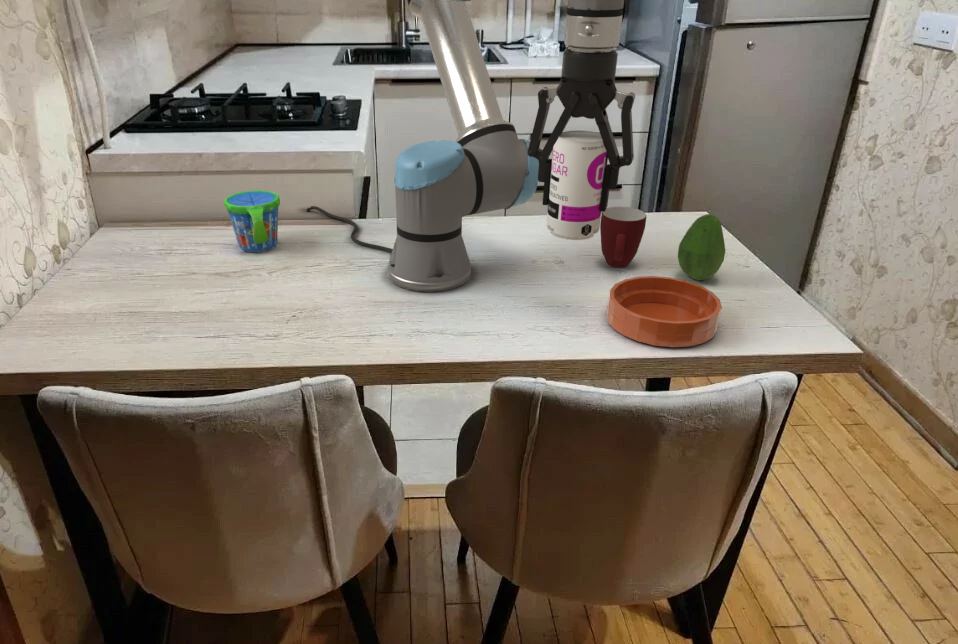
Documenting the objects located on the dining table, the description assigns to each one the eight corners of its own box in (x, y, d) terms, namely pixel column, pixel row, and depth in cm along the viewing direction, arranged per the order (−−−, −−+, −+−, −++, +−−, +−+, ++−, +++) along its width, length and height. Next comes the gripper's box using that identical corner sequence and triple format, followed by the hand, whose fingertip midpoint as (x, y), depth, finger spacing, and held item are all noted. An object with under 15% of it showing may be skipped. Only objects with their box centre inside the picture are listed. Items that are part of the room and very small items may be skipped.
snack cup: (232, 235, 152) (225, 187, 147) (283, 231, 154) (277, 184, 149) (230, 264, 139) (223, 212, 133) (286, 259, 140) (281, 208, 135)
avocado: (714, 270, 135) (727, 208, 129) (723, 288, 128) (737, 223, 122) (670, 268, 136) (681, 206, 130) (676, 285, 129) (688, 221, 123)
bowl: (592, 332, 114) (595, 307, 112) (624, 292, 127) (627, 268, 125) (702, 359, 107) (708, 333, 105) (725, 314, 120) (730, 289, 117)
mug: (643, 279, 132) (651, 226, 127) (598, 277, 133) (604, 225, 128) (636, 256, 141) (643, 207, 136) (594, 255, 142) (600, 205, 137)
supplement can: (608, 231, 115) (620, 135, 107) (579, 245, 110) (590, 146, 102) (565, 219, 120) (574, 126, 112) (535, 232, 115) (543, 136, 107)
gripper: (511, 48, 101) (503, 205, 113) (666, 56, 95) (641, 221, 106) (523, 41, 107) (514, 191, 119) (670, 48, 101) (646, 205, 113)
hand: (574, 205), depth 113 cm, fingers closed on supplement can, 8 cm apart
